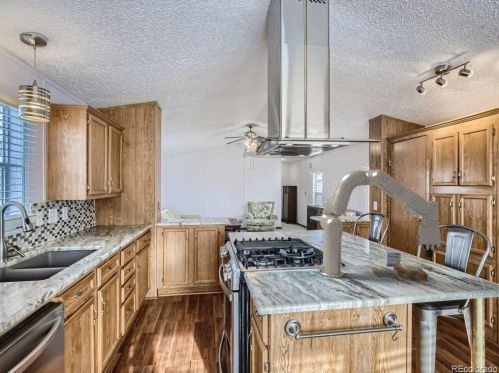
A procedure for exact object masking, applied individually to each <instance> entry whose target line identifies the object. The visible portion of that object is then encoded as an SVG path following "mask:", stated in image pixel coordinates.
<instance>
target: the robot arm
mask: <svg viewBox="0 0 499 373" xmlns="http://www.w3.org/2000/svg"><path fill="white" fill-rule="evenodd" d="M374 185H375V186H376V187H377V188H378V189H379V190H380V191H382V192H383V193H384V194H386V195H387V196H388V197H390V198H392V199H395V200H397V201H400V202H402V203H404V206H403V207H404V210H405V211H406V212H407V213H409V214H413V215H419V216H421V218H420V220H421V222H420V223H421V224H420V225H419V226H418V231H417V242H418V243H417V245H418V246H419V247H423V248H424V249H425V256H426V257H427V258H433V256H434V250H435V249H436V248H441V247H442V245H441V243H442V235H441V230H440V226H439V225H441V223H442V222H441V221H439V219H438V218H439V203H438V202H437V201H435V200H425V199H424V197H423V196H421V195H419V194H417V192H415V191H413V190H412V189H409V188H408V187H406V186H404V185H402V184H400V182H398V181H397V180H396V179H394V178H393V177H392V176H391V175H390V174H388V172H386V171H385V170H382V169H378V168H376V169H370V170H369V169H368V170H361V169H360V170H352V171H349V172H347V173H346V174H345V175H344V176H343V177H342V178H341V179H340V180H339V182H338V183H337V185H336V188H335V190H334V193H333V196H332V197H331V196H330V198H328V199H327V200H326V202H325V204H324V208H323V210H322V213H321V214H322V215H321V217H320V221H319V222H320V223H319V224H320V226H321V228H322V229H323V231H324V232H323V242H322V245H323V247H322V248H323V249H322V263H321V264H320V265H318V264H314V266H313V267H314V268H313V269H316V270H319V274H320V275H322V276H324V277H329V278H342V277H343V276H344V274H345V272H343V271H342V270H341V269H342V238H343V231H344V225H343V222H342V220H341V219H340V218H339V217H340V216H342V215H343V214H345V213H346V211H347V210H348V205H349V202H350V198H351V195H352V193H353V191H354V190H355V189H356V188H357V187H360V186H374Z"/></svg>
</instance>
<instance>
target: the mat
mask: <svg viewBox="0 0 499 373" xmlns="http://www.w3.org/2000/svg"><path fill="white" fill-rule="evenodd" d="M371 269H372V271H373V272H374V274H375V276H377V277H379V278H380V277H381V278H382V277H383V278H391V279H392V278H393V279H400V277H399V276H398V274H397V273H396V272H395V271H394V270H393V269H386V268H384V269H383V268H374V267H373V268H371Z"/></svg>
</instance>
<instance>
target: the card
mask: <svg viewBox="0 0 499 373" xmlns="http://www.w3.org/2000/svg"><path fill="white" fill-rule="evenodd" d="M400 264H401V266H402V267H403V268H404V269H405V270H410V271H419V268H420V266H419V265H417V264H416V263H415V262H413V261H401V260H400Z"/></svg>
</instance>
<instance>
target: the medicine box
mask: <svg viewBox="0 0 499 373" xmlns="http://www.w3.org/2000/svg"><path fill="white" fill-rule="evenodd" d="M401 256H402V255H401V252H399V251H391V250H390V251H389V250H384V265H385V266H386V267H392V268H393V267H394V263H396V264H401V258H402V257H401Z"/></svg>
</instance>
